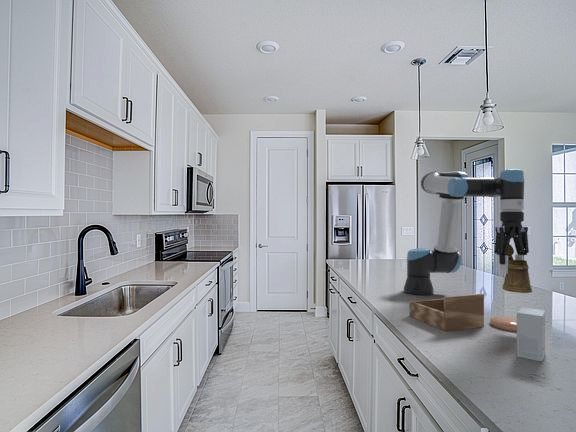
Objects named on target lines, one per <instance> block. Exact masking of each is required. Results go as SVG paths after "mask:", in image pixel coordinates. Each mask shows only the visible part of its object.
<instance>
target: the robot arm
mask: <svg viewBox="0 0 576 432" xmlns="http://www.w3.org/2000/svg"><path fill="white" fill-rule="evenodd" d="M499 174H500V175H499V177H469V175H468V173H466V172H464V171H456V170H455V171H454V170H453V171H452V170H450V171H449V170H448V171H442V170H441V171H437V170H436V171H431V172H428V173H426V174H425V175H423V176H422V177H421V180H420V187H421V189H422V191H424V192H425V193H427V194H431V195H438V198H439V199H440V200H441V206H440V207H441V208H440V216H439V217H440V218H439V227H438V236H437V243H436V244H435V245H434V246H433V250H431V249H430V248H429V247H422V248H414V249H412V248H411V249H410V250H408V251H407V255H406V265H407V266H406V278H405V279H406V280H405V283H404V286H403V292H404V293H406V294H409V295H417V296H430V295H433V294H434V292H435V291H434V286H433V283H432V279H431V274H435V273H437V274H439V273H440V274H441V273H442V274H445V273H446V274H450V273H456V272H458V270H459V269H460V268H461V264H462V255H461V253H460V252H459V251H458V250H459V249H458V247H456V241H457V232H458V223H459V214H460V206H461V202H462V201H463V200H465V198H467V197H475V198H476V197H483V198H486V197H487V198H497V197H500V198H499V199H500V200H499V210H500V213H499V220H500V222H501V226H495V240H494V241H495V244H494V254H496V255H497V256H499V259H498V260H499V262H498V263H499V273H501V274H508V256H506V254H507V250H508V247H509V244H510V242H511V239H512V240H513V243H514V248H515V250H516V254H515V255H514V260H525V256H527V255H528V254H529V252H530V250H529V238H528V237H529V236H528V230H529V227H528V226H523V225H522V223H523V222H525V221H524V220H525V212H524V208H525V206H524V205H525V203H524V199H525V198H524V197H525V196H524V195H525V178H524V177H525V176H524V175H525V173H524V171H523V169H519V168H512V169H504V170H501V171H500V173H499Z"/></svg>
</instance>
